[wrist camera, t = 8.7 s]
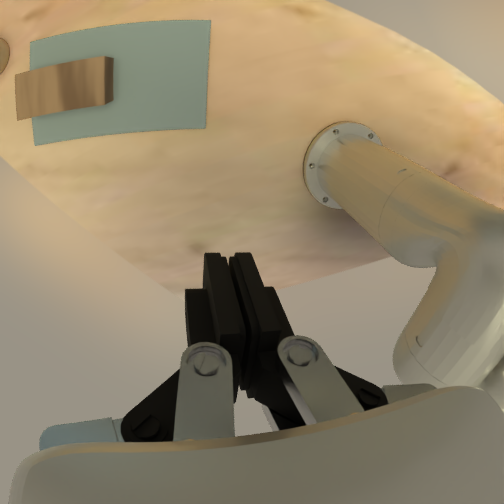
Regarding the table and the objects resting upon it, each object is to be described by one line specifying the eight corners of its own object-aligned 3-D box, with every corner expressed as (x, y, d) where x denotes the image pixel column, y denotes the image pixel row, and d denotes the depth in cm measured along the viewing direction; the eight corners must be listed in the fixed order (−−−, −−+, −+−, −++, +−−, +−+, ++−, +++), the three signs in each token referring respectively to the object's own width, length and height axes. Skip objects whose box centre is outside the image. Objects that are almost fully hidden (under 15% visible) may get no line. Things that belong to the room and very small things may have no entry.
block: (104, 55, 23) (14, 74, 20) (104, 104, 25) (16, 120, 23) (113, 57, 27) (32, 72, 24) (113, 100, 29) (34, 113, 27)
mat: (210, 21, 28) (211, 20, 27) (205, 127, 35) (205, 128, 34) (32, 42, 23) (30, 42, 22) (36, 144, 30) (34, 145, 29)
